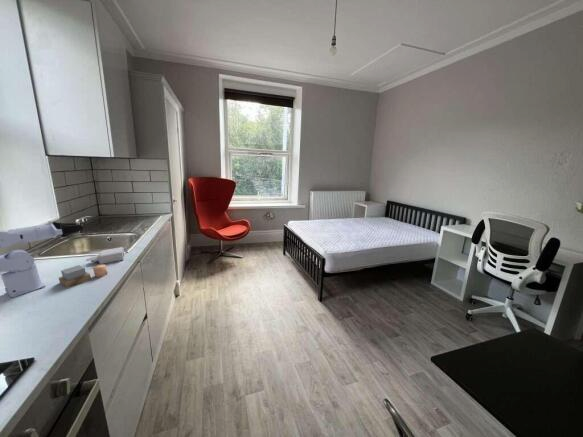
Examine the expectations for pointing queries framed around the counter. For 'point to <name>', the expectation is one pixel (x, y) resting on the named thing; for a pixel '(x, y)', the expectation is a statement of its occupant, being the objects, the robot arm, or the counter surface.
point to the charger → (108, 256)
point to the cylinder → (100, 270)
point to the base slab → (74, 280)
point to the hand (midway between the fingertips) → (79, 226)
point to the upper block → (73, 272)
